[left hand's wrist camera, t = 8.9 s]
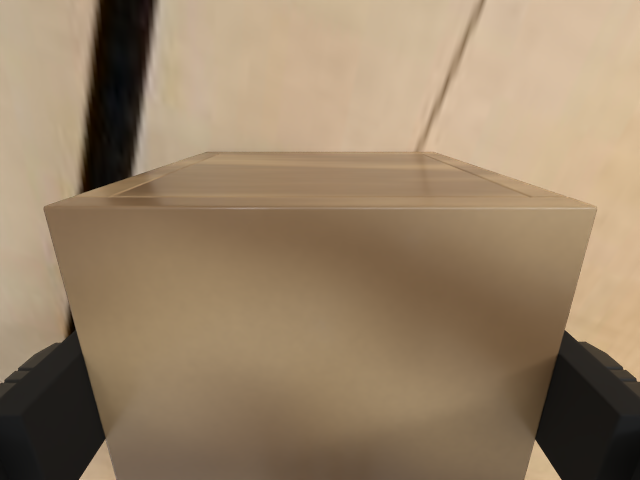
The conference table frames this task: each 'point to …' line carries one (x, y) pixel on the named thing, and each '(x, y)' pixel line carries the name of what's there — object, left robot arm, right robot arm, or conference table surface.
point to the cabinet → (320, 314)
